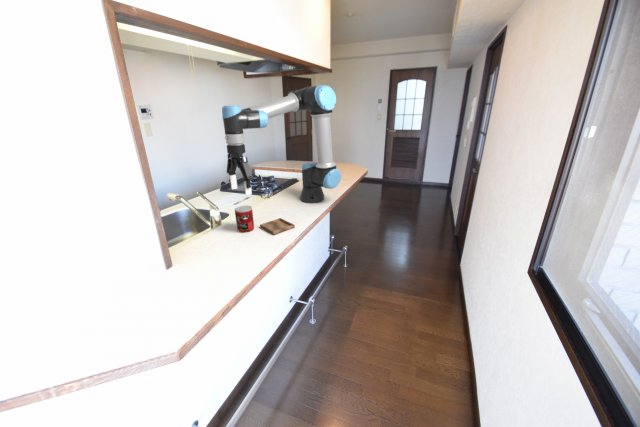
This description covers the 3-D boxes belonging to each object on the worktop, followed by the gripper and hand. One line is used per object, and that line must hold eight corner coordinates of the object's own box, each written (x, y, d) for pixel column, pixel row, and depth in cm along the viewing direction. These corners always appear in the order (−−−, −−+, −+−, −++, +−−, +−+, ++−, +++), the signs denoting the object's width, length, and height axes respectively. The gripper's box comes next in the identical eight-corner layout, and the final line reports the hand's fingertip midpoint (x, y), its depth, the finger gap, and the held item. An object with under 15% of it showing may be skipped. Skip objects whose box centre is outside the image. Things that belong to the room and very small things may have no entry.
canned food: (234, 231, 130) (231, 209, 126) (245, 225, 136) (243, 204, 132) (246, 234, 127) (243, 212, 123) (257, 227, 133) (255, 206, 129)
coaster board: (280, 220, 141) (280, 218, 140) (294, 227, 132) (294, 224, 132) (260, 227, 133) (259, 224, 133) (273, 235, 125) (273, 232, 124)
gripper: (215, 142, 123) (221, 187, 131) (241, 147, 106) (247, 199, 114) (230, 141, 128) (236, 185, 135) (258, 145, 111) (262, 195, 118)
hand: (241, 191), depth 125 cm, fingers open, 13 cm apart
